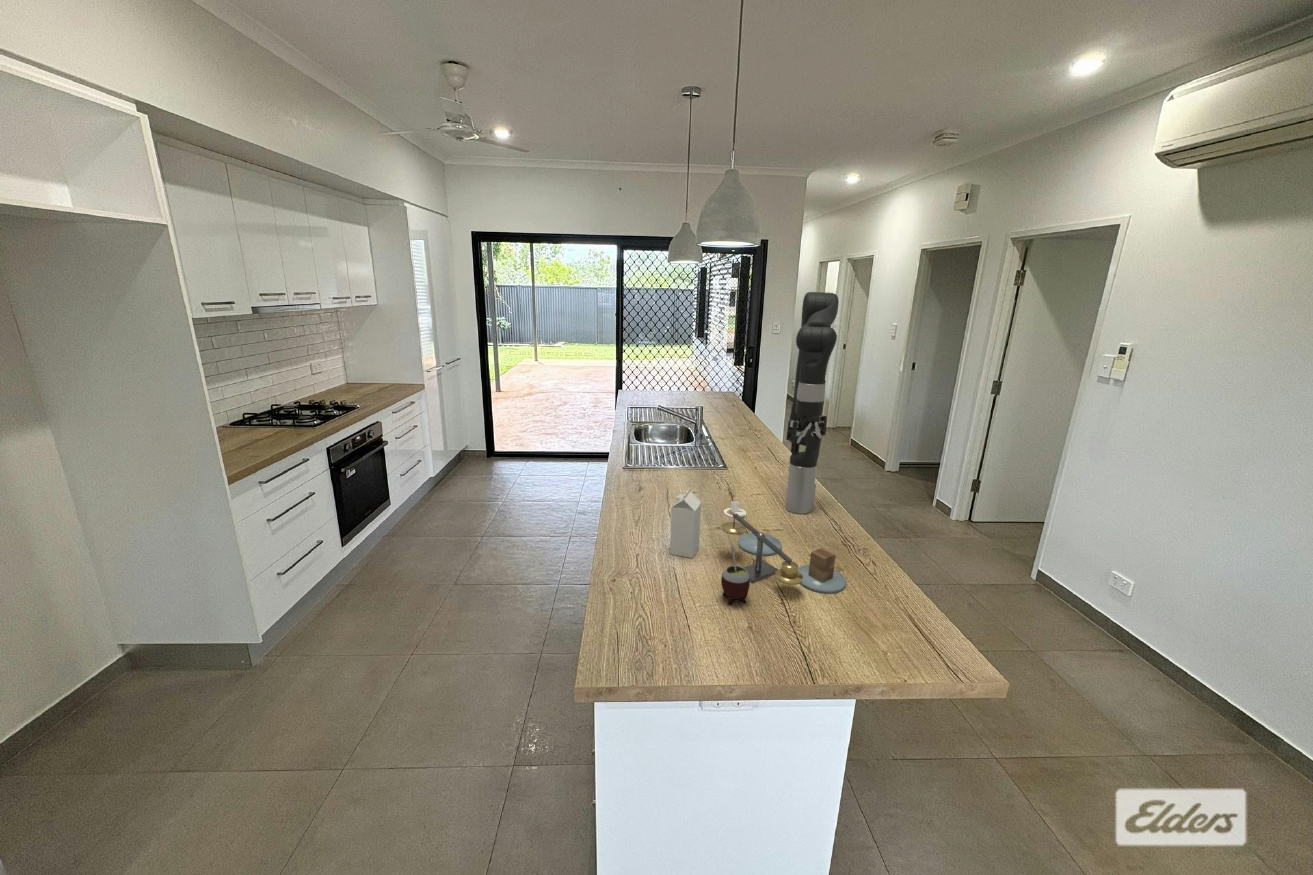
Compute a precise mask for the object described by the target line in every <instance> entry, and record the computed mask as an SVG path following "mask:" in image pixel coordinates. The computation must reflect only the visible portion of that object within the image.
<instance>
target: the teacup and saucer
mask: <svg viewBox="0 0 1313 875" xmlns="http://www.w3.org/2000/svg"><path fill="white" fill-rule="evenodd" d="M740 504H741V503H740V501H737V500H734V501H731V502H730V507H728V508H725V509H724V510H723V513H724V515H727V516H728V517H732V518H734V517H733V514H735V513H737V514H738V515H739V516H740V517H742V518H743V517H745V516H746V515H747V511H746V510H744V509H743V508H740ZM729 510H730V511H731V513H732V514H729V513H728V511H729Z"/></svg>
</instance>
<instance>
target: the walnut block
mask: <svg viewBox="0 0 1313 875" xmlns="http://www.w3.org/2000/svg"><path fill="white" fill-rule="evenodd" d="M836 556H837V555H836V554H835V553H833V552H831V551H829V550H828V549H825V548H823V547H820V548H818V549H816V550H812V551H811V552H810V559H809V564H808V565H809V574H808V575H809V576H811V577H812V578H814V579H816V580H818V581H819V582H821V583H823V582H825V581H827V580H830V579H832V578H833V572H834V570H835V564H836Z"/></svg>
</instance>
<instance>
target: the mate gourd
mask: <svg viewBox="0 0 1313 875" xmlns="http://www.w3.org/2000/svg"><path fill="white" fill-rule="evenodd" d="M727 537H728V540H729V543H730V546H731V548H730V550H731V553H732V560H733V565H730V566H727V567H726V568H725V569H724V570H723V572H722V575H721V579H720V583H721V588H722V590H723V593H722V597H724V598H727V599H728V603H727V605H728V606H732V604H733V603H734V602H739V603H742V604H744V605H745V604H746V603H747V600H746V599H747V597H748V595H749V594H748V593H749V589H750V585H751V584H750V583H751V582H750V578H749V574H748V572H747V571H746V570H745V569H744V567H742V566H739V565H737V563H736V553H735V551H736V550H735V546H734V544H733V540H732V539H731V536H730V534H729V535H727Z"/></svg>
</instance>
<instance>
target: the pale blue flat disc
mask: <svg viewBox="0 0 1313 875" xmlns="http://www.w3.org/2000/svg"><path fill="white" fill-rule="evenodd" d="M764 534H765V537H766V538H767V539H768V540H769V541H770V542H772V543H773V544H774V545H775V546H776V547H778V548H779V549H780V550H781V551H782V542H781V541H780V540H779V539H778V537H775V536H774V535H770V534H768V533H767V534H766V533H764ZM757 541H758V540H757V538H756V536H755V535H754V534H753V533H752V532H749V533H743V534H741V535H740V537H739V538H738V541H737V542H738V543H737V544H738V547H739V548H740V549H741V550H742V551H744V552H745V553H748V554H751V555H755V556H756V552H757ZM773 555H774V556H775V555H777V554H776V553H775V552H774V551H773V550H772V549H771V548H769V547H768V546H767V545H766V544H765V543H763V553H762V557H769V556H773Z"/></svg>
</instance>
